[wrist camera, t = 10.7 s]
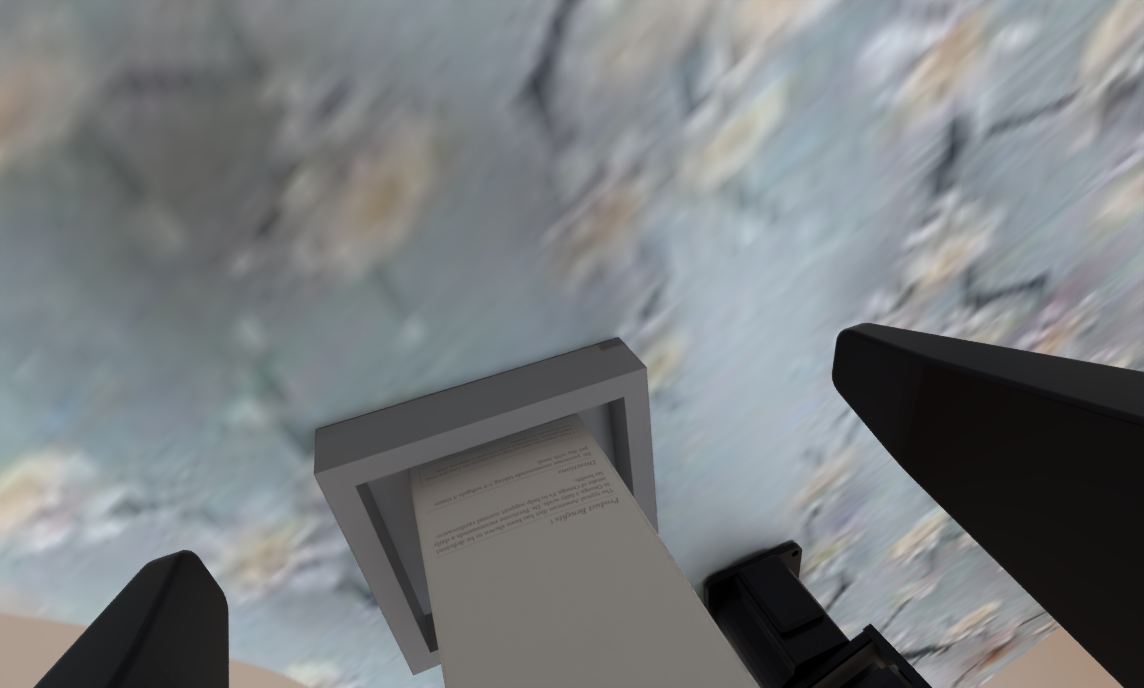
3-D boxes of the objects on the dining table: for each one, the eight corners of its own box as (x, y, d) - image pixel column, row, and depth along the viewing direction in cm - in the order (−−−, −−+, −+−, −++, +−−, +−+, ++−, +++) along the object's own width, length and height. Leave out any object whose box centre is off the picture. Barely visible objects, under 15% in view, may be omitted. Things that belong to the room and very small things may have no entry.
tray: (638, 534, 30) (661, 572, 28) (407, 625, 27) (413, 675, 25) (619, 337, 23) (646, 367, 21) (315, 430, 21) (313, 474, 19)
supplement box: (443, 585, 26) (517, 965, 15) (403, 461, 22) (466, 854, 11) (595, 530, 28) (755, 836, 17) (583, 407, 24) (778, 704, 13)
